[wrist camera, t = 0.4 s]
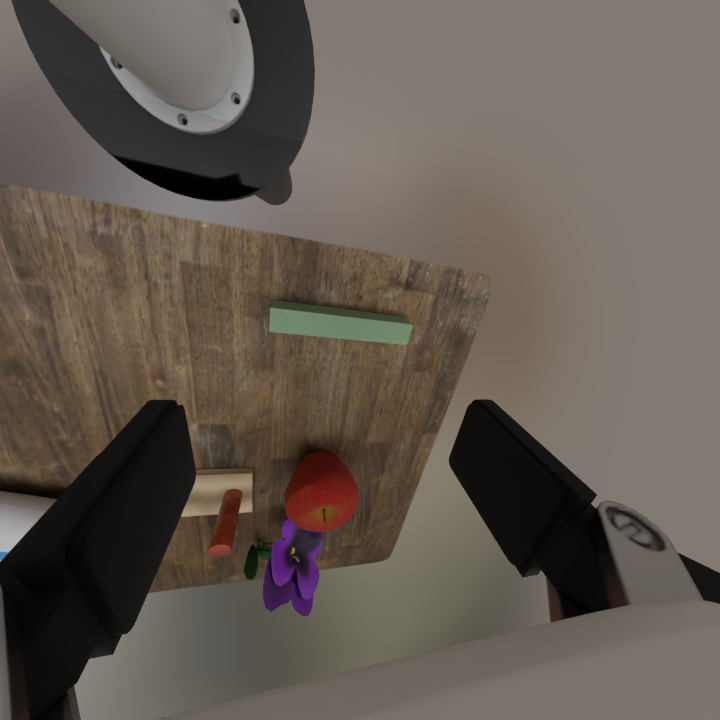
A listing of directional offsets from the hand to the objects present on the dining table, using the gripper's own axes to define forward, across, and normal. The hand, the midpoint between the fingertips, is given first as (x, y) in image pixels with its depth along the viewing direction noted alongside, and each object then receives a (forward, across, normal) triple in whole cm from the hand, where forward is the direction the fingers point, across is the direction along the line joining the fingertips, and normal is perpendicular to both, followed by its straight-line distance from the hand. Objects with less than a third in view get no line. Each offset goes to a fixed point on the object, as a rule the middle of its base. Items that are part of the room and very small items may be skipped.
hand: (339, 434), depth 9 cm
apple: (+28, -3, +30) cm, 42 cm away
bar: (+28, -4, +4) cm, 28 cm away
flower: (+29, +3, +50) cm, 58 cm away
